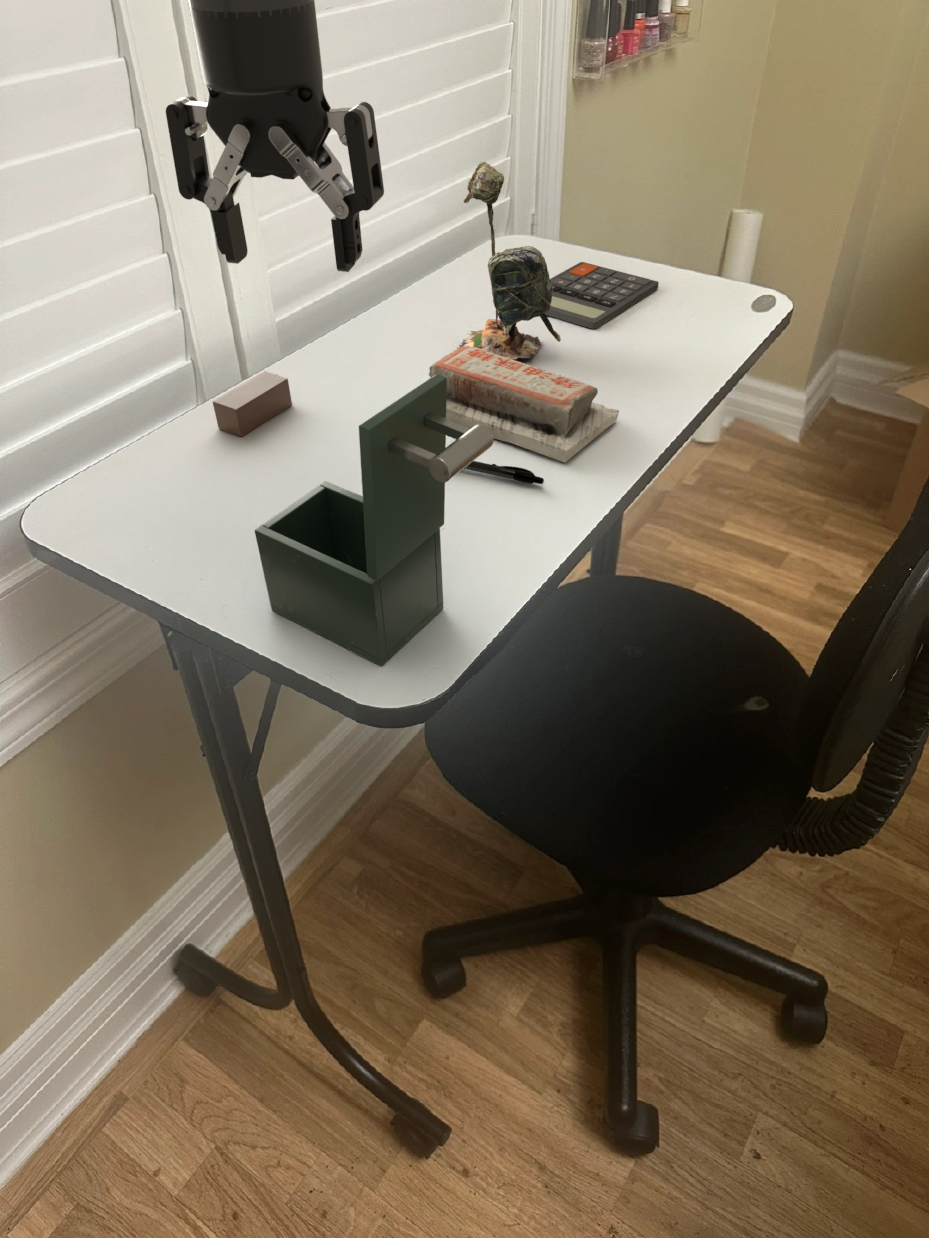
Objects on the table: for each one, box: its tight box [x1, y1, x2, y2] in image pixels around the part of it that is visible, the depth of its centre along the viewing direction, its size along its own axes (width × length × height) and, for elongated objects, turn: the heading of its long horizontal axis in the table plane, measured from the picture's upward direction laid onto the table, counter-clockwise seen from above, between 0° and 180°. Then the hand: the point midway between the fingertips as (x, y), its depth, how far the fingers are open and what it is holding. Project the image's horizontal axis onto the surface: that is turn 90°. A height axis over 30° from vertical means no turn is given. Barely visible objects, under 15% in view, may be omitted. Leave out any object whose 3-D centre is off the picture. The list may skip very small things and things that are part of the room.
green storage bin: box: [254, 480, 444, 667], centre depth 67 cm, size 11×8×8 cm
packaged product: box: [428, 346, 620, 464], centre depth 89 cm, size 18×5×10 cm
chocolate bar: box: [212, 370, 293, 438], centre depth 91 cm, size 3×8×3 cm, turn 147°
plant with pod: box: [456, 161, 562, 360], centre depth 95 cm, size 8×11×20 cm
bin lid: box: [358, 374, 494, 581], centre depth 57 cm, size 12×8×5 cm
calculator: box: [545, 261, 660, 330], centre depth 112 cm, size 12×1×15 cm
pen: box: [463, 460, 545, 485], centre depth 83 cm, size 14×2×1 cm, turn 66°
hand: (291, 264), depth 66 cm, fingers open, 8 cm apart
